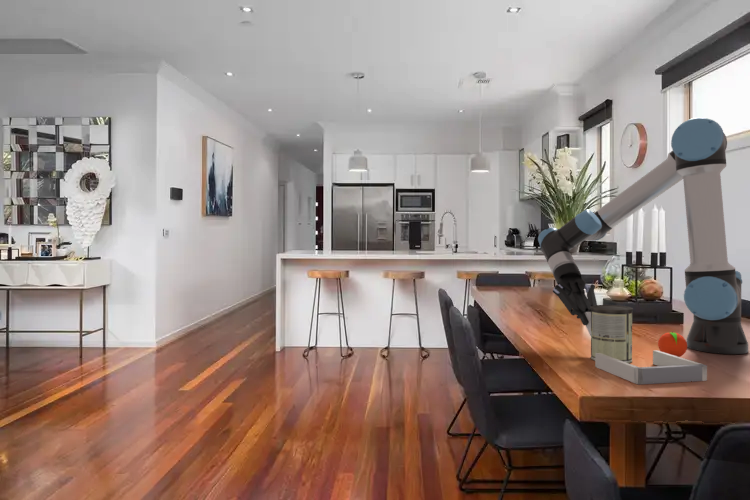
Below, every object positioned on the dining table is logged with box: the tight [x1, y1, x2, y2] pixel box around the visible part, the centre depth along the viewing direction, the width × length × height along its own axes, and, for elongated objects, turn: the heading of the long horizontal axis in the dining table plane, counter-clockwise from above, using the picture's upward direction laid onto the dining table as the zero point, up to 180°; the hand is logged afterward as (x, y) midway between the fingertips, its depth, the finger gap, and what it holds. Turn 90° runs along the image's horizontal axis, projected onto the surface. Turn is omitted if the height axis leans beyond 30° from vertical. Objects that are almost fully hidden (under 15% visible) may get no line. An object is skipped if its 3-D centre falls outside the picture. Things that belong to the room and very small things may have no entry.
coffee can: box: [590, 304, 634, 364], centre depth 139 cm, size 10×10×14 cm
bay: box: [594, 349, 708, 385], centre depth 125 cm, size 16×17×4 cm
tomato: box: [657, 331, 688, 358], centre depth 141 cm, size 8×7×7 cm
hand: (595, 333), depth 145 cm, fingers closed
